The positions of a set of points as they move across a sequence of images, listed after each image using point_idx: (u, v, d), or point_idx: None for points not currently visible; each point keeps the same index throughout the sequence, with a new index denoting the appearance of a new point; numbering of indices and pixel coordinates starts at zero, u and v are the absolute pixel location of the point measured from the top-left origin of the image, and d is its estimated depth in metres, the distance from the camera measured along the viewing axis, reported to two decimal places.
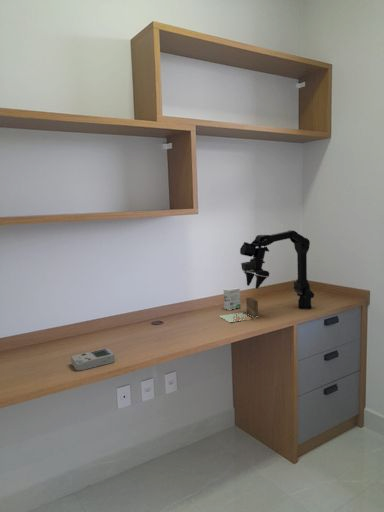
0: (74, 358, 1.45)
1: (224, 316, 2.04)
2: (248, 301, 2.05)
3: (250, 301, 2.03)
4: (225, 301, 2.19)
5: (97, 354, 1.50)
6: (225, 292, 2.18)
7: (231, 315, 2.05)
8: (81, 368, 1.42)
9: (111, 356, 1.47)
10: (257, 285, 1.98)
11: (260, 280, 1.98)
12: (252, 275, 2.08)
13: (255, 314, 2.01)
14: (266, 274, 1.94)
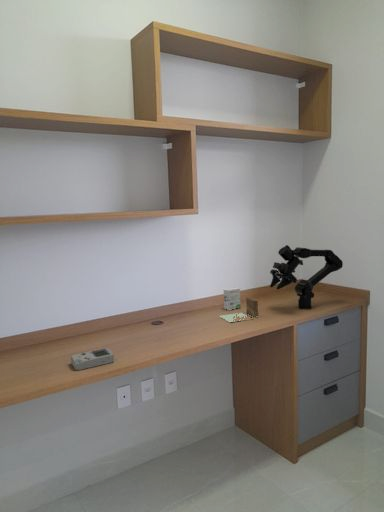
0: (74, 357, 1.46)
1: (224, 316, 2.04)
2: (248, 301, 2.05)
3: (250, 301, 2.03)
4: (225, 301, 2.19)
5: (97, 354, 1.50)
6: (225, 292, 2.18)
7: (231, 315, 2.05)
8: (80, 368, 1.42)
9: (110, 356, 1.47)
10: (279, 286, 2.04)
11: (284, 283, 2.04)
12: (278, 280, 2.12)
13: (255, 314, 2.01)
14: (294, 280, 2.00)
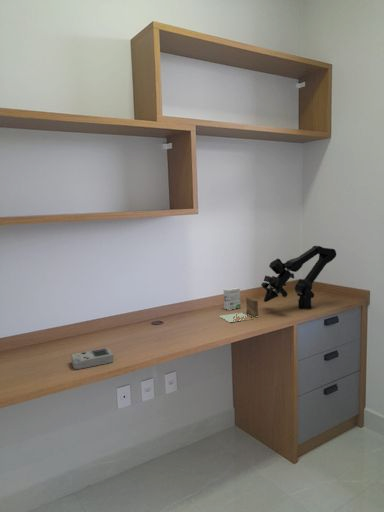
0: (73, 356, 1.47)
1: (224, 316, 2.04)
2: (248, 301, 2.05)
3: (250, 301, 2.03)
4: (225, 301, 2.19)
5: (97, 353, 1.51)
6: (225, 292, 2.18)
7: (231, 315, 2.05)
8: (79, 367, 1.43)
9: (109, 356, 1.47)
10: (266, 299, 2.06)
11: (271, 296, 2.06)
12: None
13: (255, 314, 2.01)
14: (284, 294, 1.99)
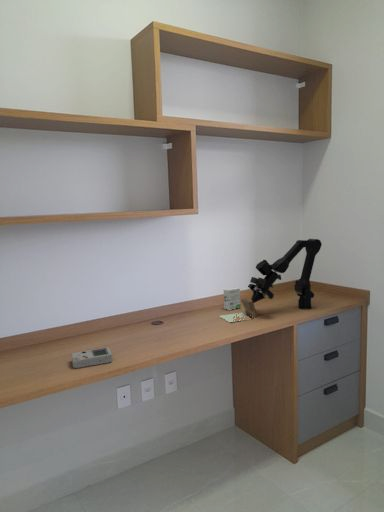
0: (73, 355, 1.48)
1: (224, 316, 2.04)
2: (244, 302, 2.04)
3: (245, 302, 2.02)
4: (225, 301, 2.19)
5: (96, 353, 1.51)
6: (225, 292, 2.18)
7: (231, 315, 2.05)
8: (77, 366, 1.44)
9: (108, 356, 1.48)
10: (253, 300, 2.03)
11: (258, 297, 2.03)
12: None
13: (254, 314, 2.00)
14: (271, 295, 1.97)
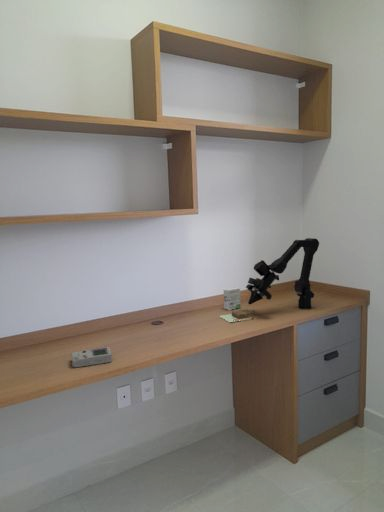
0: (73, 354, 1.49)
1: (224, 316, 2.04)
2: None
3: None
4: (225, 301, 2.19)
5: (96, 352, 1.52)
6: (225, 292, 2.18)
7: (231, 315, 2.05)
8: (77, 365, 1.45)
9: (108, 356, 1.48)
10: (251, 301, 2.03)
11: (256, 298, 2.03)
12: None
13: (251, 315, 2.00)
14: (268, 296, 1.96)
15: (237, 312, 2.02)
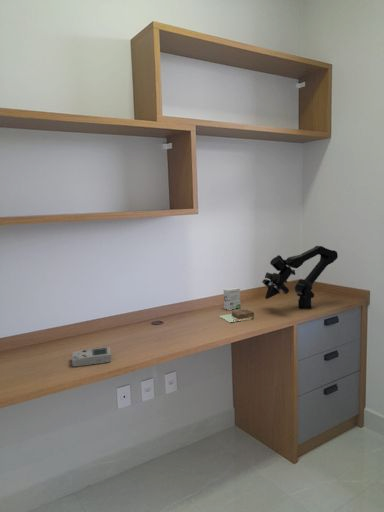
0: (73, 354, 1.50)
1: (224, 316, 2.04)
2: None
3: None
4: (225, 301, 2.19)
5: (96, 352, 1.52)
6: (225, 292, 2.18)
7: (231, 315, 2.05)
8: (76, 364, 1.45)
9: (107, 356, 1.48)
10: (268, 296, 2.06)
11: (273, 293, 2.06)
12: None
13: (251, 315, 2.00)
14: (286, 290, 1.99)
15: (237, 312, 2.02)
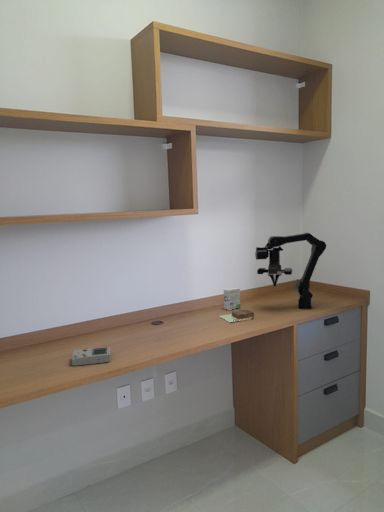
0: (74, 353, 1.51)
1: (224, 316, 2.04)
2: None
3: None
4: (225, 301, 2.19)
5: (97, 351, 1.52)
6: (225, 292, 2.18)
7: (231, 315, 2.05)
8: (75, 363, 1.46)
9: (106, 355, 1.48)
10: (276, 283, 2.14)
11: (277, 278, 2.14)
12: None
13: (251, 315, 2.00)
14: None
15: (237, 312, 2.02)
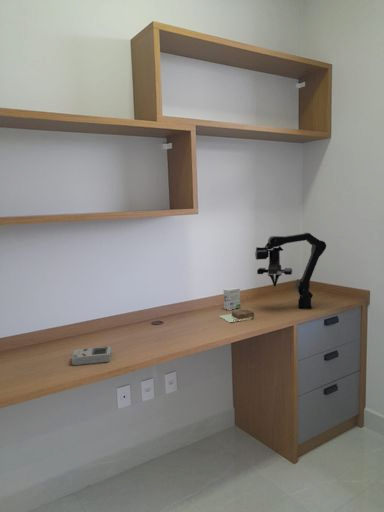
0: (74, 352, 1.52)
1: (224, 316, 2.04)
2: None
3: None
4: (225, 301, 2.19)
5: (97, 351, 1.53)
6: (225, 292, 2.18)
7: (231, 315, 2.05)
8: (75, 363, 1.47)
9: (106, 355, 1.48)
10: (276, 283, 2.14)
11: (277, 278, 2.14)
12: None
13: (251, 315, 2.00)
14: None
15: (237, 312, 2.02)
